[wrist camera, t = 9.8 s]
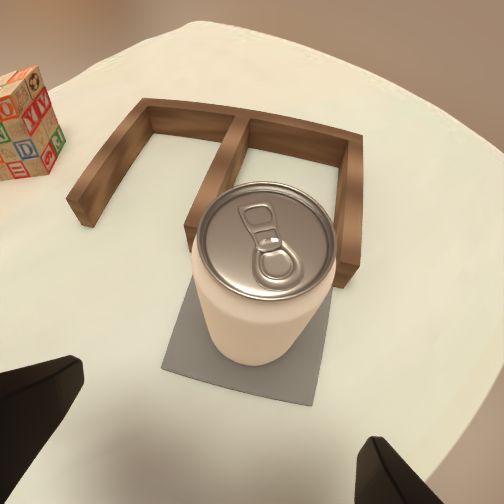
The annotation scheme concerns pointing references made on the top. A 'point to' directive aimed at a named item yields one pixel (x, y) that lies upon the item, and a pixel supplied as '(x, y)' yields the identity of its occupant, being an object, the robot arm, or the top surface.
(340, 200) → the shelf lanes
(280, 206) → the can
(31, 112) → the stack of blocks
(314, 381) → the mat
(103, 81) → the top surface
